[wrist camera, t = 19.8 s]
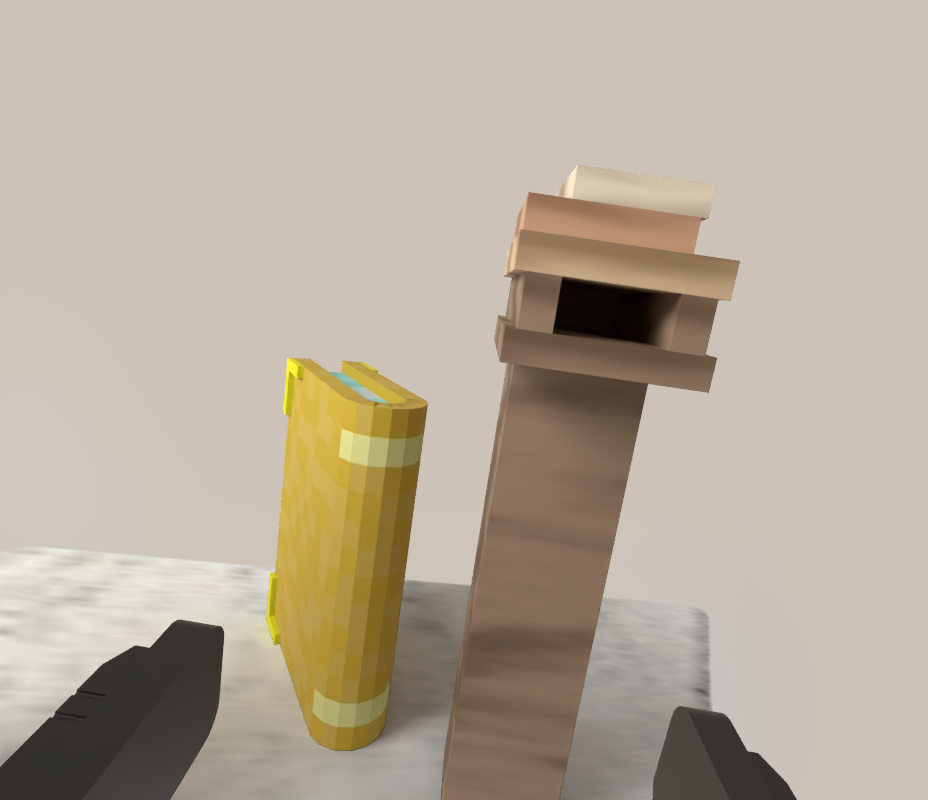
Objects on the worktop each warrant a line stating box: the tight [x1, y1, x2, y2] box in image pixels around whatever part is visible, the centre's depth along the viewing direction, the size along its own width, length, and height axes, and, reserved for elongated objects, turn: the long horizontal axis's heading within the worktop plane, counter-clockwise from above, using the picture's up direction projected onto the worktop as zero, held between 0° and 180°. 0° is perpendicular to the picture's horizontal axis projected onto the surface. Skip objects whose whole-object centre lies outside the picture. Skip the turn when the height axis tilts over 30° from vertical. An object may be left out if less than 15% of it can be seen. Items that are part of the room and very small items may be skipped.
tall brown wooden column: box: [441, 165, 740, 800], centre depth 31 cm, size 12×9×39 cm
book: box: [266, 358, 428, 751], centre depth 44 cm, size 17×7×25 cm, turn 29°
